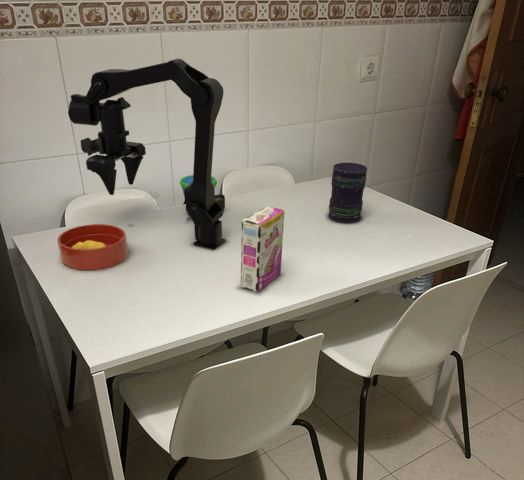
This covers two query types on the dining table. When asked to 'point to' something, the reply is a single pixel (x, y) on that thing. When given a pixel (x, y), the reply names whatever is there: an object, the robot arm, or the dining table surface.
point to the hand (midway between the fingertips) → (121, 189)
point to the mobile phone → (219, 199)
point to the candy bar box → (261, 248)
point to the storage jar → (347, 192)
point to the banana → (88, 245)
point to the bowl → (93, 257)
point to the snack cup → (189, 179)
